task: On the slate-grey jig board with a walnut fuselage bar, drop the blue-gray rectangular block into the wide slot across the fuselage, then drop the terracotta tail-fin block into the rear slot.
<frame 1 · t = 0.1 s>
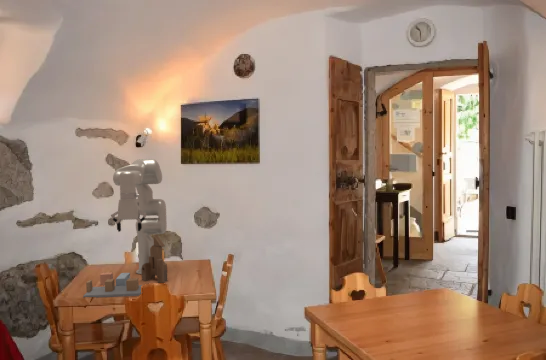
hand: (129, 231, 260), 31 cm above the table, tool pointing down, fingers open, 9 cm apart
tail: (106, 284, 280), on the table
blue-gray rectangular block: (123, 285, 279), on the table
jig: (115, 292, 263), on the table
wooden toy: (155, 281, 285), on the table
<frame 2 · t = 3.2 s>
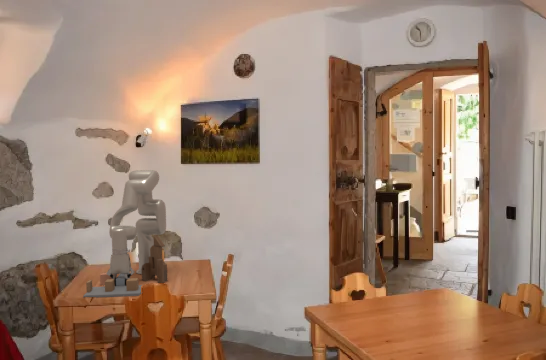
hand: (121, 286, 274), 0 cm above the table, tool pointing down, fingers closed on blue-gray rectangular block, 4 cm apart
blue-gray rectangular block: (123, 284, 279), on the table, touching gripper
everything else where it was.
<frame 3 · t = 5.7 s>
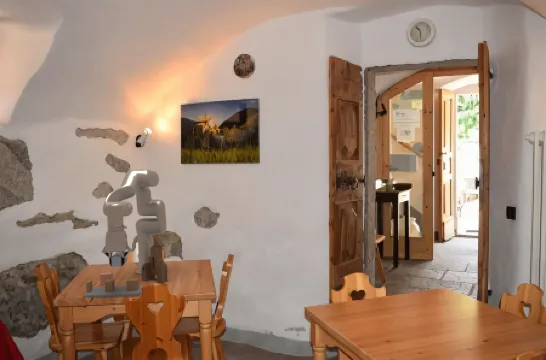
hand: (117, 265, 258), 15 cm above the table, tool pointing down, fingers closed on blue-gray rectangular block, 4 cm apart
blue-gray rectangular block: (119, 263, 262), point 14 cm above the table, touching gripper
everything else where it was.
when the fingers open (3 cm above the table, at t = 8.1 s): blue-gray rectangular block drops 1 cm, resting on jig.
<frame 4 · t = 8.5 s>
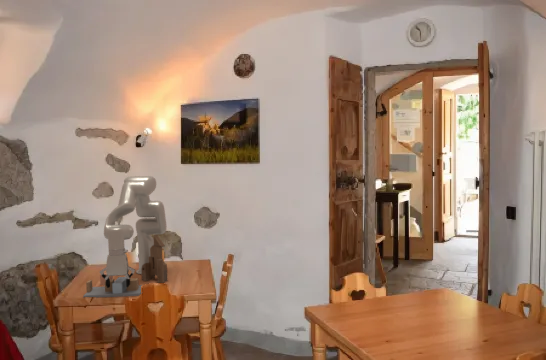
hand: (118, 286, 258), 4 cm above the table, tool pointing down, fingers open, 9 cm apart
blue-gray rectangular block: (120, 289, 263), point 1 cm above the table, touching jig
everything else where it was.
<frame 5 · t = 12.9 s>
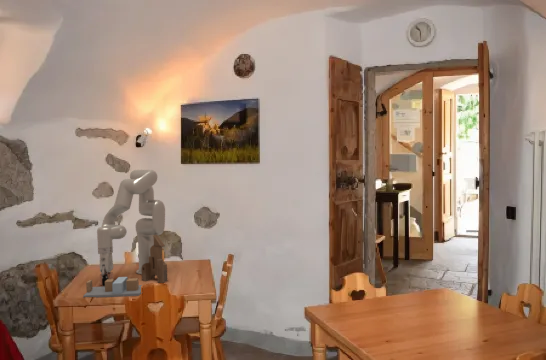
hand: (106, 283, 280), 0 cm above the table, tool pointing down, fingers closed on tail, 4 cm apart
tail: (106, 284, 280), on the table, touching gripper
everything else where it was.
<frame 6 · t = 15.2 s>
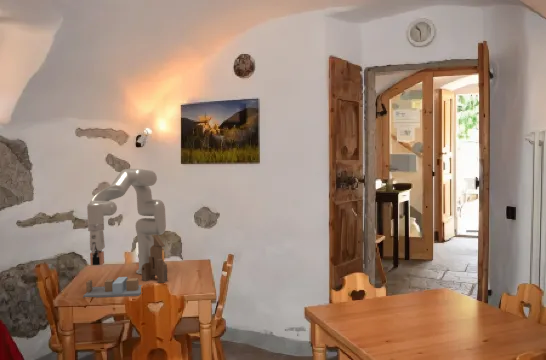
hand: (97, 263, 262), 15 cm above the table, tool pointing down, fingers closed on tail, 4 cm apart
tail: (97, 264, 262), point 15 cm above the table, touching gripper
everything else where it was.
when the fingers open (3 cm above the table, at t = 17.6 s): tail drops 2 cm, resting on jig.
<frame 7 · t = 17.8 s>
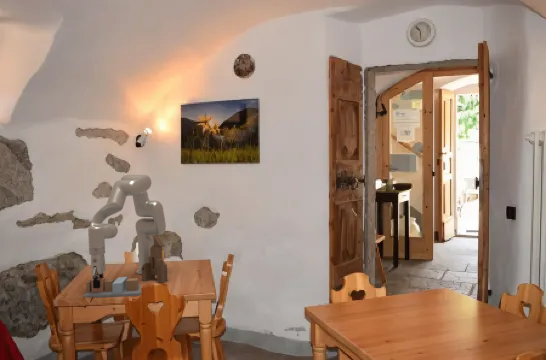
hand: (98, 285, 262), 4 cm above the table, tool pointing down, fingers open, 6 cm apart
tail: (98, 290, 263), point 1 cm above the table, touching jig
everything else where it was.
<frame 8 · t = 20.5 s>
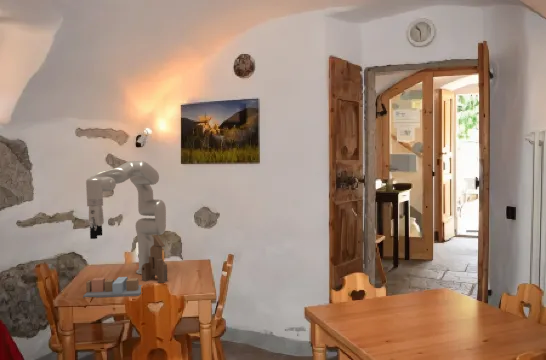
hand: (96, 237, 261), 28 cm above the table, tool pointing down, fingers open, 9 cm apart
nothing on the table moved.
at the end: blue-gray rectangular block 0.1 cm from the target spot on the jig, point 1.2 cm above the jig's base; tail 0.1 cm from the target spot on the jig, point 1.2 cm above the jig's base; tail tilted 0° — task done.
